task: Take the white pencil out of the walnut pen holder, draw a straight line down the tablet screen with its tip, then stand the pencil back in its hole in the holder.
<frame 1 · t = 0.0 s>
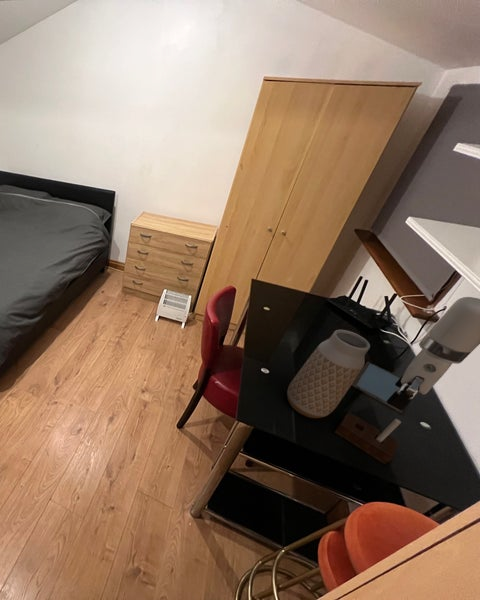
hand: (397, 396, 84), 26 cm above the table, tool pointing down, fingers open, 9 cm apart
tablet: (382, 385, 123), on the table
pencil: (372, 446, 100), resting in holder
vase: (304, 406, 112), on the table
holder: (362, 440, 102), on the table
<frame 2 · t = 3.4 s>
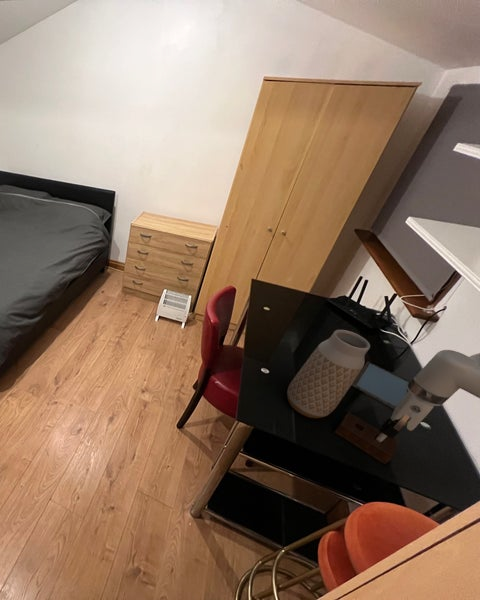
hand: (386, 432, 96), 8 cm above the table, tool pointing down, fingers closed on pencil, 1 cm apart
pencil: (372, 446, 100), resting in holder, touching gripper
everything else where it was.
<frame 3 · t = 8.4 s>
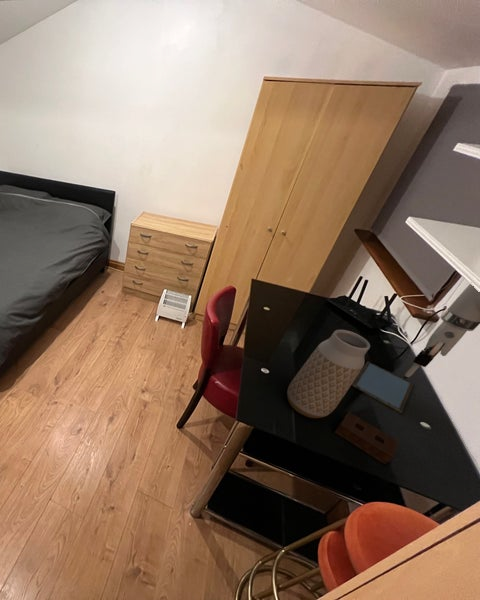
hand: (419, 362, 108), 18 cm above the table, tool pointing down, fingers closed on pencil, 1 cm apart
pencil: (404, 377, 112), point 11 cm above the table, touching gripper
everything else where it was.
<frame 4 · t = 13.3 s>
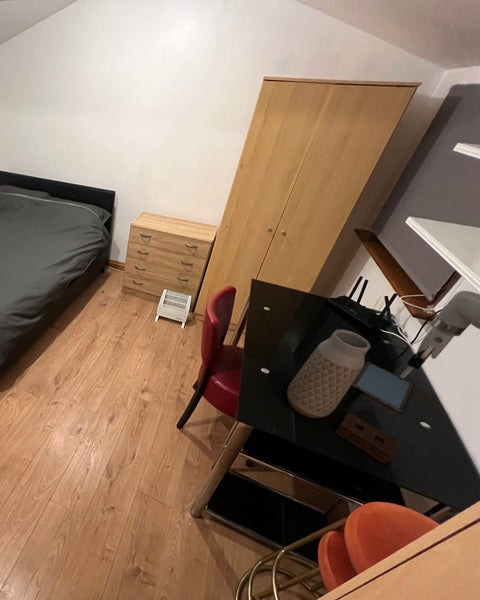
hand: (413, 365, 118), 11 cm above the table, tool pointing down, fingers closed on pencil, 1 cm apart
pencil: (400, 378, 122), point 3 cm above the table, touching gripper
everything else where it was.
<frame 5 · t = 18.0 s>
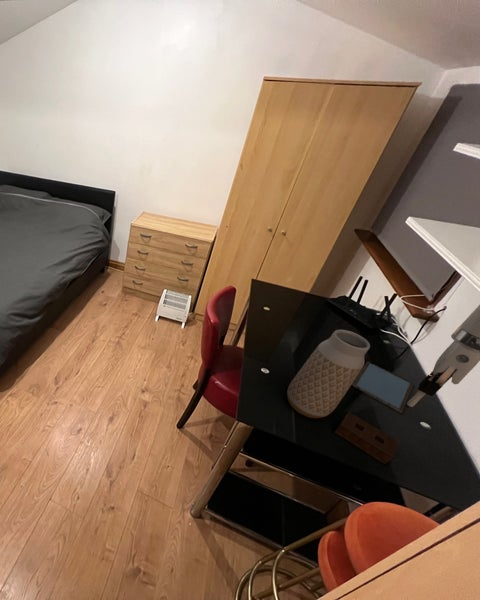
hand: (425, 390, 88), 25 cm above the table, tool pointing down, fingers closed on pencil, 1 cm apart
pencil: (407, 407, 92), point 17 cm above the table, touching gripper
everything else where it was.
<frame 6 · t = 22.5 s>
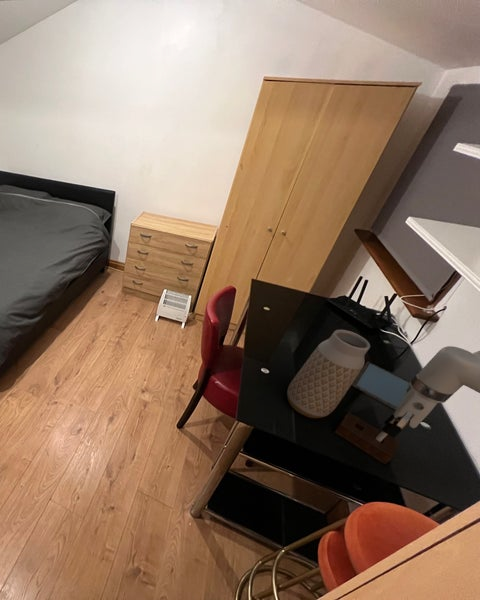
hand: (389, 429, 95), 9 cm above the table, tool pointing down, fingers open, 3 cm apart
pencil: (371, 446, 100), resting in holder
everything else where it was.
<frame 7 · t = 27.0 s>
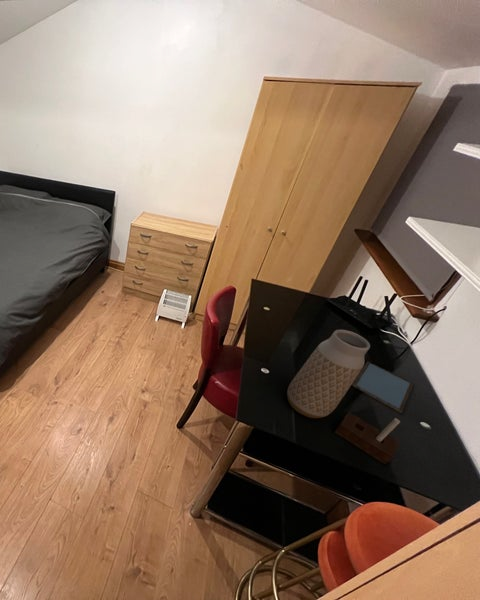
nothing on the table moved.
at the end: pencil 0.2 cm from the target spot in the holder, point 0.0 cm above the holder's base; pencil tilted 0°; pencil touching table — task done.
